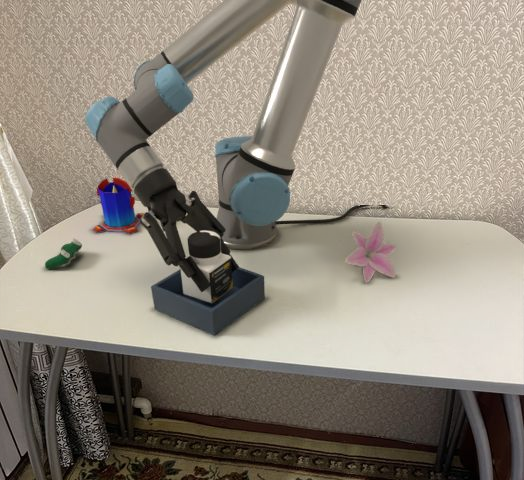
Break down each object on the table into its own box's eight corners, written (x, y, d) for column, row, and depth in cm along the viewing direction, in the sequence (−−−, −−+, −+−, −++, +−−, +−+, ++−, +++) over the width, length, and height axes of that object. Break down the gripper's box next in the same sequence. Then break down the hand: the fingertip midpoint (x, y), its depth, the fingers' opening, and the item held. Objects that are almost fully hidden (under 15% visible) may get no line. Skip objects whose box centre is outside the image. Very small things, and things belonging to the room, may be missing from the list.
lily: (333, 285, 119) (352, 258, 111) (335, 242, 125) (352, 213, 116) (385, 298, 121) (407, 272, 113) (384, 255, 127) (405, 228, 119)
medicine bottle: (212, 304, 106) (207, 247, 99) (182, 294, 109) (176, 238, 102) (233, 287, 111) (230, 231, 104) (204, 278, 114) (199, 223, 107)
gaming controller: (55, 277, 125) (69, 262, 122) (41, 266, 124) (54, 250, 121) (74, 258, 133) (87, 243, 129) (61, 247, 132) (74, 232, 128)
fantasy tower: (90, 232, 140) (79, 185, 133) (107, 213, 149) (98, 168, 142) (135, 234, 138) (127, 187, 131) (149, 214, 148) (143, 169, 140)
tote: (206, 276, 121) (204, 254, 118) (264, 298, 113) (264, 275, 110) (154, 309, 111) (150, 286, 108) (214, 335, 103) (212, 311, 100)
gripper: (177, 173, 114) (243, 266, 116) (99, 207, 101) (174, 311, 103) (195, 152, 108) (263, 250, 110) (113, 184, 95) (193, 294, 97)
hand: (220, 279), depth 106 cm, fingers closed on medicine bottle, 8 cm apart
